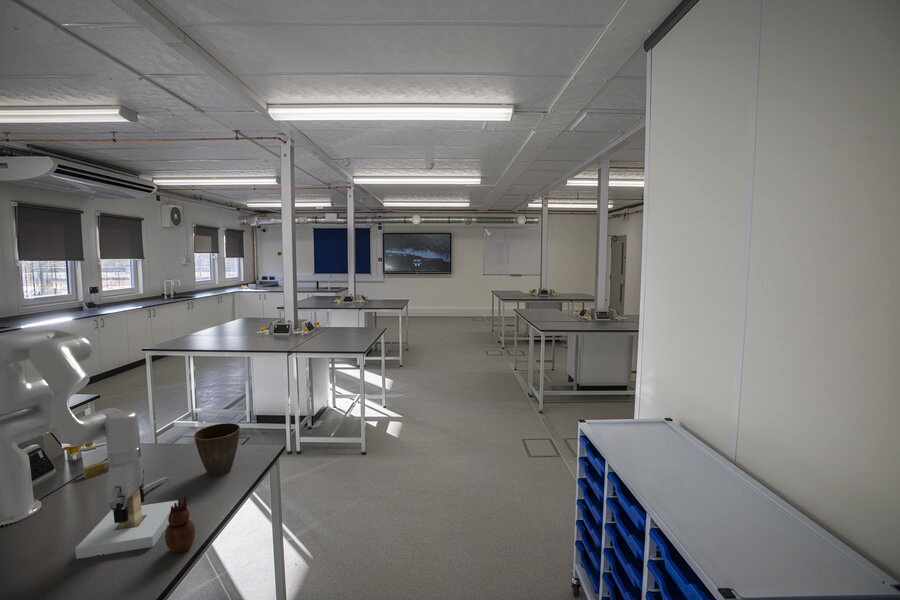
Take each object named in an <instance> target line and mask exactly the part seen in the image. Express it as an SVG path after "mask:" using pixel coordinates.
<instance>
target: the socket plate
mask: <svg viewBox="0 0 900 600" xmlns="http://www.w3.org/2000/svg"><path fill="white" fill-rule="evenodd" d="M175 502H176V504H177V507H178V499H177V500H170V501H164V502H163V501H162V502H157V503H150V504H144V505H143V504H141V509H142V520H143V521H142V522H141V524H140V525H139V526H138V527H134V528H127V529H119V523H114V514H113V511H112V509H111V510H110V511H109V512H108V513H107V514H106V515H105V517H103V518H102V519H101V520H100V522H99V523H98V524H97V525H96V526H95V527H94V528H93V529H92V530H91V531H90V532H89V533H88V534H87V535H86V537H85V538H83V540H82V541H81V542H80V543H79V544H78V545H77V546H76V547H75V548H74V550H75V559H76V560H79V558H80V559H85V558H91V557H97V555H99V556H103V554H104V555H110V554H115V553H117V554H118V553H123V552H128V551H134V550H142V549H147V548H153V547H154V546H155V545H156V543H157V542H158V541H159V540H160V538H161V536H162V534H163V533H164V531H166V530H167V527H168V526H169V525H170V524H169V522H168V517H169V514H170V511H171V506H173V507H174V503H175ZM167 525H168V526H167Z"/></svg>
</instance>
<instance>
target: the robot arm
mask: <svg viewBox="0 0 900 600" xmlns="http://www.w3.org/2000/svg"><path fill="white" fill-rule="evenodd" d="M93 351H94V350H93V346H92V343H91V342H90V341H89V339H87V338H86V337H84V336H83V335H81V334H77V333H74V332H73V333H72V332H68V331H65V330H60V329H59V330H58V329H44V330H43V329H41V330H35V331H28V332H20V333H14V334H6V335H0V527H2V526H1V525H3V526H7V525H10V523H11V524H13V523H16V522H19V521H22V520H24V519H26V518H28V517H30V516H32V515H34V514H36V513H37V512H38V511H39V510H41V508H42V502H41V501H40V500H37V499H35V498H34V490H33V489H34V488H33V482H32V472H31V463H30V457H29V454H28V453H27V451H25V450H24V449H22V448H20V447H18V445H20V444H23V443H24V442H27V441H30V440H33V439H36V438H39V437H41V436H44V435H46V434H48V433H49V432H50V431H51V430H52V428H53V429H55V431H56V432H57V434H58V435H59V436H60V438H61V439H62V440H63V441H64V442H65V443H66V444H68V445H70V446H73V447H80V446H84V445H87V444H90V443H92V442H94V441H97V440H99V439H102V438H104V437H105V443H106V452H107V460H108V464H109V466H110V467H109V471H108V472H107V497H108V500H109V501H108V504H109V505H110V508H111V510H112V511H113V514H114V523H121V522H127V521H128V508H127V507H126V503H127V499H128V498H129V497H130V496H131V495H132V494H133V493H134V492H135V491H136V490H137V489H140V498H141V504H142V503H144V502H145V492H144V489H143V488H144V486H145V484H144V480H145V478H144V474H145V471H144V470H143V464H142V460H141V459H142V445H141V437H140V436H141V434H140V424H139V415H138V413H137V412H135V411H133V410H125V411H124V410H122V409H119V408H117V407H108V408H104V409H101V410H98V411H95V412H92V413H90V414H86V415H83V416H80V417H76V415H74V413H73V411H72V409H71V408H70V405H69V403H70V402H69V401H70V399H71V397H72V396H73V395H75V394H77V393H78V392H79V391H81V390H82V389H83V388H85V387H86V386H87V385H88V383H89V382H90V379H91V378H90V376H89V374H88V373H87V372H86V371H85V369H84V368H83V366H82V365H81V363H80V362H84V361H87V360H89V359H90V358H91V357H92V355H93ZM26 361H30V362H31V364H32V365H33V366H34V368H35V370H36V371H37V372H38V373H39V374H40V376H31V377H28V378H26V369H25V367H24V365H23V364H22V363H21V362H26ZM122 495H123V496H124V495H125V496H124V497H119V496H122ZM119 500H123V502H122V504H121V503H118V501H119ZM6 524H7V525H6Z"/></svg>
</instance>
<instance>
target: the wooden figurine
mask: <svg viewBox="0 0 900 600" xmlns="http://www.w3.org/2000/svg"><path fill="white" fill-rule="evenodd" d="M177 500H178V507H177V504H176V502H175V503H174V507H173V506H171V511H170V514H169V517H168V522H169V524H168V526H167V527H166V529H165V533H164V541H165V543H166V547H167V549H168V550H169V551H170V552H171V553H175V554H177V553H178V554H179V553H184V552H185V551H187V550H189V549H190V548H191V547H192V546H193V543H194V541H195V537H196V526H195V523H194V521H192V520H191V519H190V514H191V513H190V511H189V509H188V508H187V507H188V503H187V494H185V495H184V498H183V501H181V499H180V497H178V499H177Z"/></svg>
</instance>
